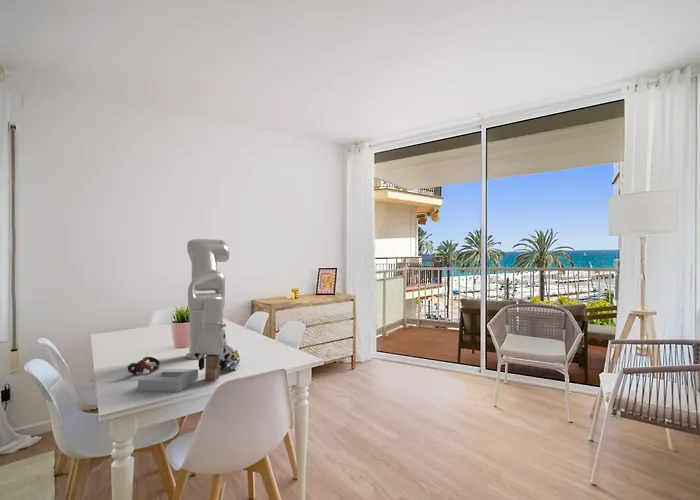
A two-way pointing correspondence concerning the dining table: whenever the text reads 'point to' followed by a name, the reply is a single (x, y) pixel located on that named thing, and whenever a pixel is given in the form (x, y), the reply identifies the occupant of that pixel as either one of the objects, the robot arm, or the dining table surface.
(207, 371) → the wood grain block
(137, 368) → the dark brown looped piece
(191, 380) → the well block
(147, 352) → the dining table surface
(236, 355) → the passion flower
